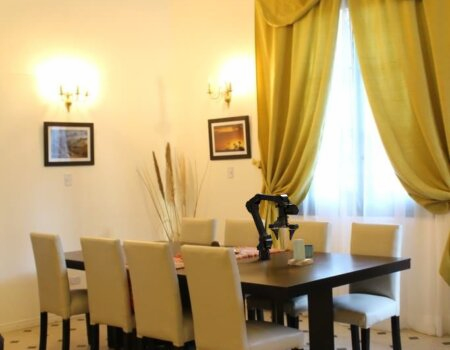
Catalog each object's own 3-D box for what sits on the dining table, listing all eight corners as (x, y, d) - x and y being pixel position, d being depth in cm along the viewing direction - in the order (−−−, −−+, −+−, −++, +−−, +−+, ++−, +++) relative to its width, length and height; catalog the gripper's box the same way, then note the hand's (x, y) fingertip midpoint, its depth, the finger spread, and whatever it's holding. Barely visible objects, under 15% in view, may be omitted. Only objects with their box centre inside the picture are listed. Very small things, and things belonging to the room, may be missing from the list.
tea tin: (293, 259, 376) (292, 239, 376) (301, 258, 378) (300, 238, 378) (297, 260, 371) (296, 240, 371) (305, 259, 373) (304, 239, 373)
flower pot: (313, 261, 384) (313, 246, 384) (299, 261, 386) (298, 246, 386) (314, 259, 393) (313, 244, 393) (300, 259, 395) (299, 244, 395)
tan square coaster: (287, 265, 374) (287, 260, 374) (297, 262, 383) (297, 257, 383) (304, 266, 367) (304, 261, 367) (313, 263, 376) (313, 258, 376)
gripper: (263, 215, 386) (264, 241, 386) (289, 216, 375) (290, 242, 375) (272, 214, 395) (273, 239, 395) (298, 214, 384) (299, 240, 384)
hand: (283, 240), depth 387 cm, fingers open, 9 cm apart
